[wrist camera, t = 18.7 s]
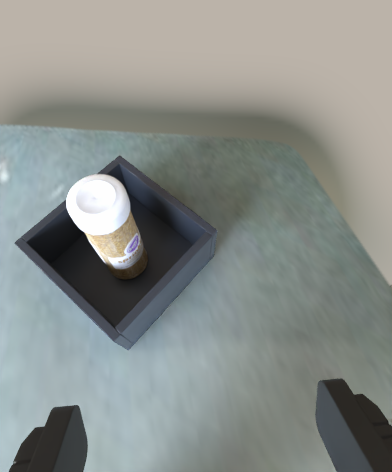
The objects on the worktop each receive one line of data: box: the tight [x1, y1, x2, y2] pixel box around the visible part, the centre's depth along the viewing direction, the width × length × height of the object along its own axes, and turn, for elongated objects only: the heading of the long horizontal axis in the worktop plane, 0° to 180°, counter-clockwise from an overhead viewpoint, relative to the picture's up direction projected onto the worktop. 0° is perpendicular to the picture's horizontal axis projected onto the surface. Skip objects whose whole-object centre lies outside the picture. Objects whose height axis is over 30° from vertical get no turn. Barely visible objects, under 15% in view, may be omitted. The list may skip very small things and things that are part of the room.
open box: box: [15, 156, 217, 350], centre depth 35 cm, size 14×14×7 cm
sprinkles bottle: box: [66, 174, 148, 279], centre depth 31 cm, size 5×5×13 cm
